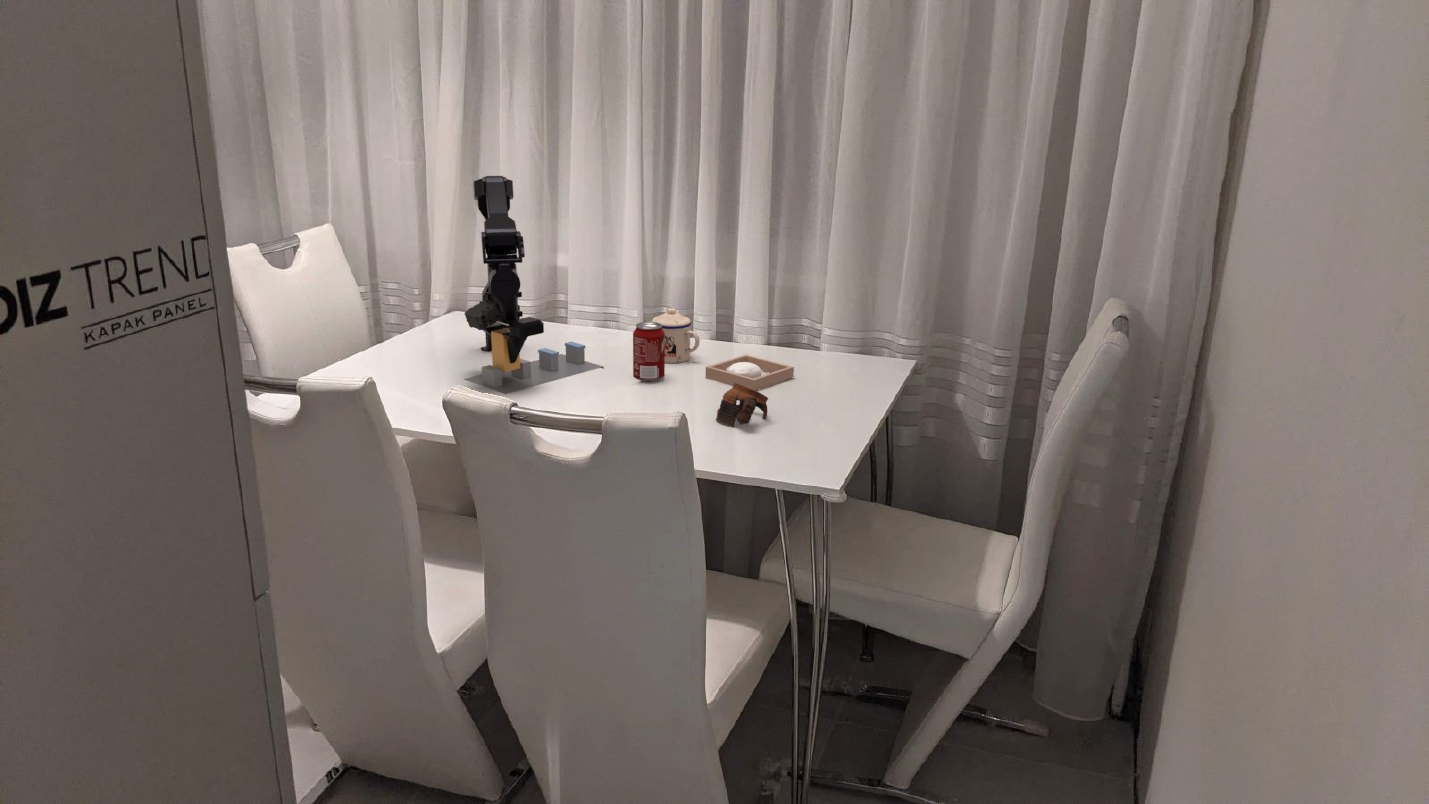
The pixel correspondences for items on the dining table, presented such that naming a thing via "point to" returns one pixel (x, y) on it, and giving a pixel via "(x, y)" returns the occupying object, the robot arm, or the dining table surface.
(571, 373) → the grey board with pegs
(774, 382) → the garlic dish
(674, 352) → the teacup with lid
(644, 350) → the soda can
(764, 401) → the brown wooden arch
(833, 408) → the dining table surface
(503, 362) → the orange rectangular block
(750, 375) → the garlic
